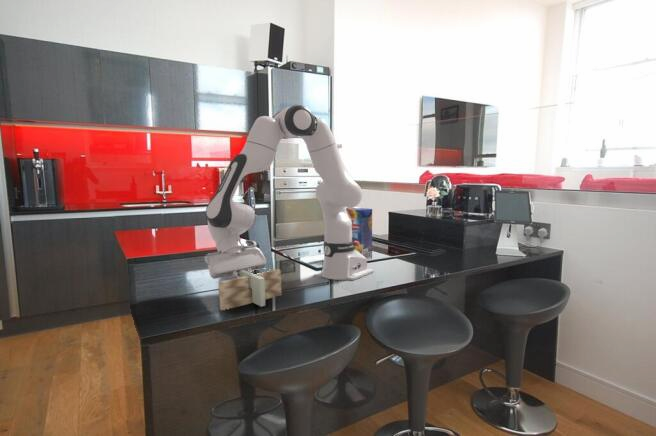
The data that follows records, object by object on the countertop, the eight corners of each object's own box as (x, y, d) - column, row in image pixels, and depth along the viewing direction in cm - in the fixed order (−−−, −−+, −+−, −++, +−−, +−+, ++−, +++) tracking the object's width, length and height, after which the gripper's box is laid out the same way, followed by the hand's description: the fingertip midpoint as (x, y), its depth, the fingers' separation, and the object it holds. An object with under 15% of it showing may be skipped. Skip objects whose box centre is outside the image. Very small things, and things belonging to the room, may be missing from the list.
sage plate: (244, 294, 133) (243, 269, 132) (265, 305, 123) (264, 278, 121) (240, 295, 132) (238, 270, 131) (261, 306, 122) (260, 279, 120)
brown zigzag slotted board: (278, 293, 135) (278, 269, 134) (281, 295, 134) (280, 269, 133) (220, 309, 121) (218, 281, 120) (222, 310, 120) (220, 282, 119)
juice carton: (372, 258, 185) (372, 208, 182) (361, 261, 180) (361, 210, 177) (354, 254, 194) (354, 207, 191) (343, 256, 189) (343, 208, 186)
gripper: (205, 248, 127) (219, 284, 121) (259, 240, 140) (274, 272, 134) (200, 259, 131) (214, 294, 125) (253, 250, 144) (268, 281, 138)
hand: (245, 282), depth 130 cm, fingers closed on sage plate, 2 cm apart
